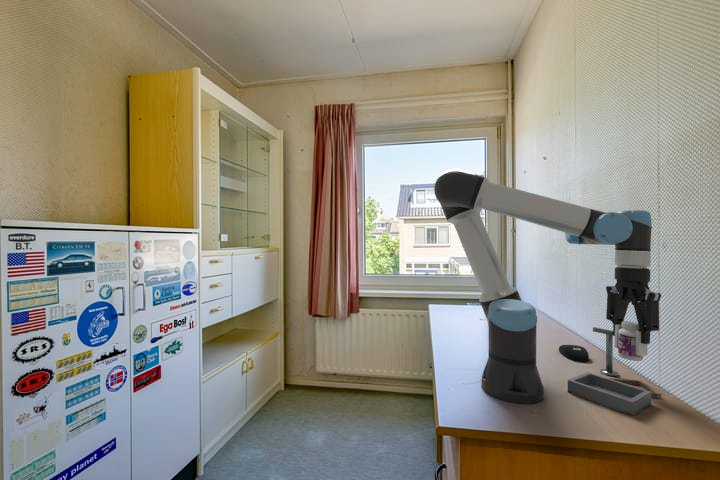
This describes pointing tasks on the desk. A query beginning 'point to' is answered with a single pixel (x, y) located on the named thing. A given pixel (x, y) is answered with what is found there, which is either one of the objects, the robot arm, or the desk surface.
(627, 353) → the pill bottle
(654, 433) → the desk surface
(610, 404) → the tray
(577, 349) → the computer mouse
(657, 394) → the collar
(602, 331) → the t stake
